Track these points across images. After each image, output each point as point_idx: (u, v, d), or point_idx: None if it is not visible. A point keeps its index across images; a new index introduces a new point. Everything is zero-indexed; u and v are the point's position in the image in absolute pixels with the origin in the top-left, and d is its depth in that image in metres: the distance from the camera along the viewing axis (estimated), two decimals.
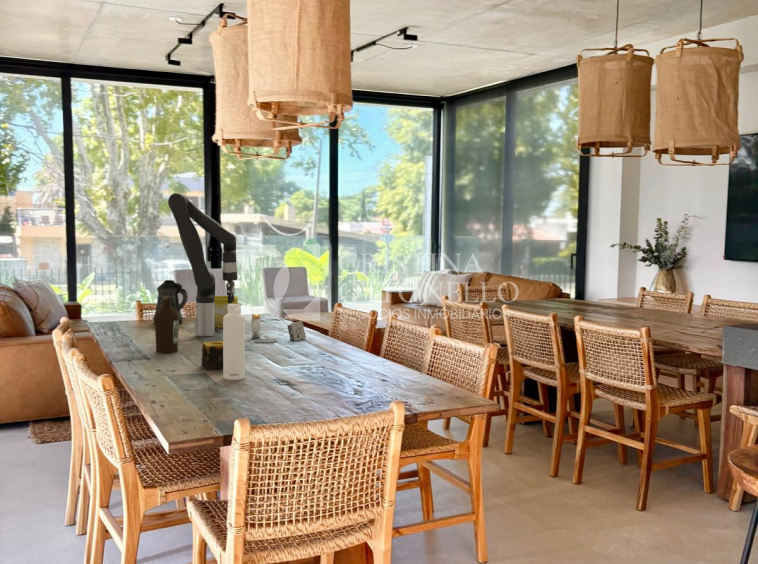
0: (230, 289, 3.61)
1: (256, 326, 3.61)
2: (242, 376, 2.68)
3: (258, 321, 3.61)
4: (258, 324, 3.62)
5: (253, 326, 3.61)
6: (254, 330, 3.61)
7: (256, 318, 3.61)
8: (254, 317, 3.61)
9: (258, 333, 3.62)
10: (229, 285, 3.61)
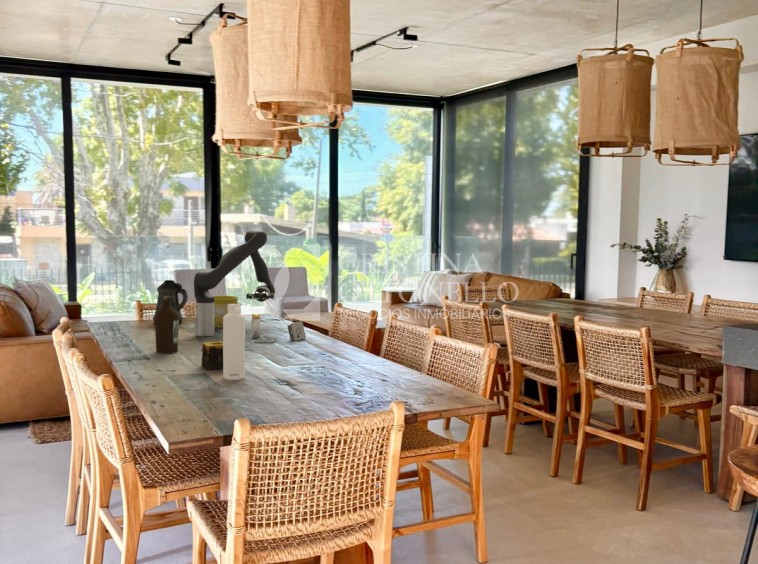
0: (273, 297, 3.81)
1: (256, 326, 3.61)
2: (242, 376, 2.68)
3: (258, 321, 3.61)
4: (258, 324, 3.62)
5: (253, 326, 3.61)
6: (254, 330, 3.61)
7: (256, 318, 3.61)
8: (254, 317, 3.61)
9: (258, 333, 3.62)
10: (273, 296, 3.83)
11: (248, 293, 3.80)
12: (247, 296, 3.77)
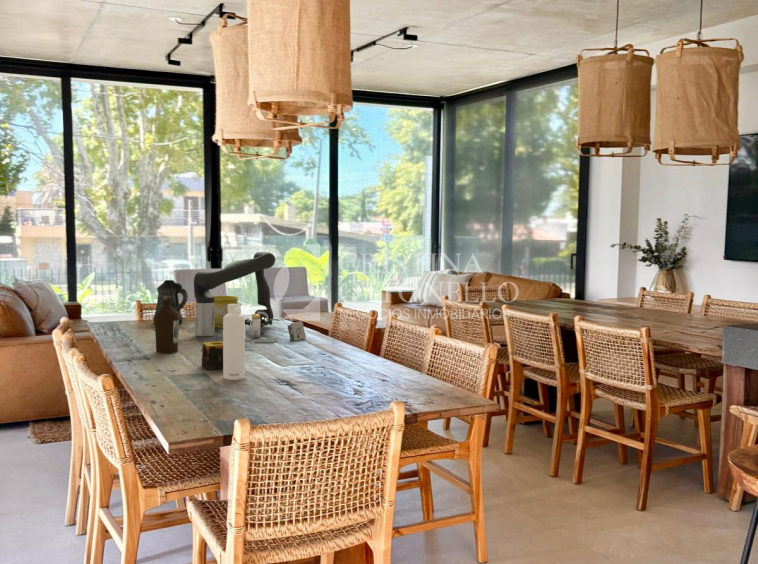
0: None
1: (256, 326, 3.61)
2: (242, 376, 2.68)
3: (258, 321, 3.61)
4: (258, 324, 3.62)
5: (253, 326, 3.61)
6: (254, 330, 3.61)
7: (256, 318, 3.61)
8: (254, 317, 3.61)
9: (258, 333, 3.62)
10: None
11: (246, 319, 3.76)
12: (245, 322, 3.73)
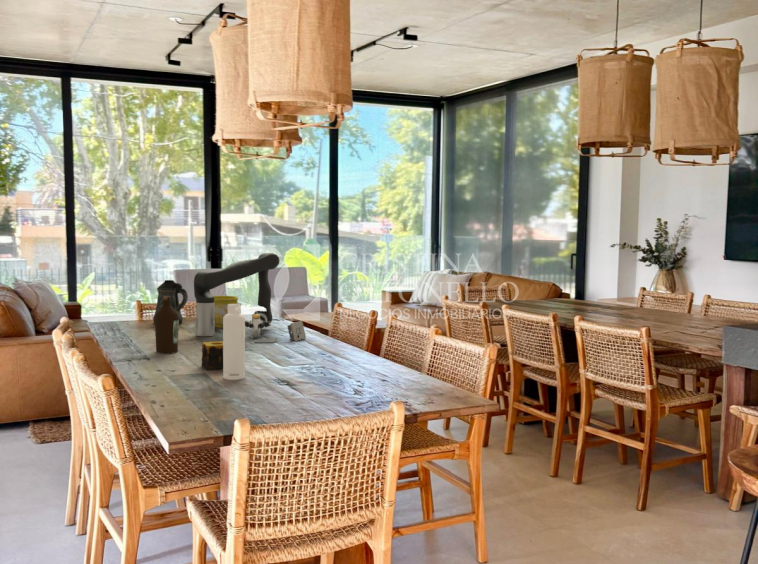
0: (268, 325, 3.68)
1: (257, 326, 3.61)
2: (242, 376, 2.68)
3: (258, 321, 3.61)
4: (258, 324, 3.62)
5: (253, 326, 3.61)
6: (254, 330, 3.61)
7: (256, 318, 3.61)
8: (254, 317, 3.61)
9: (258, 333, 3.62)
10: (270, 324, 3.70)
11: (246, 321, 3.68)
12: (247, 324, 3.65)
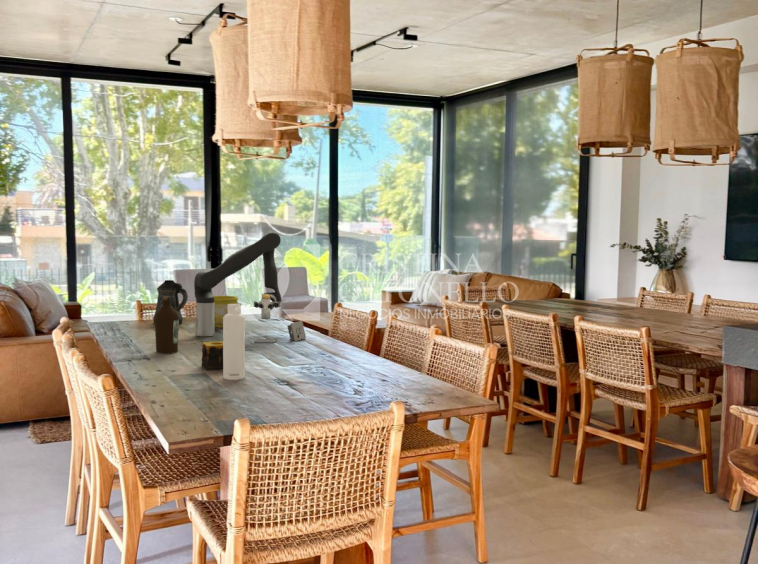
0: (278, 306, 3.56)
1: (266, 307, 3.50)
2: (242, 376, 2.68)
3: (268, 301, 3.50)
4: (268, 304, 3.50)
5: (263, 306, 3.50)
6: (264, 311, 3.50)
7: (266, 298, 3.50)
8: (264, 297, 3.50)
9: (268, 314, 3.51)
10: (280, 305, 3.58)
11: (255, 302, 3.56)
12: (257, 305, 3.53)
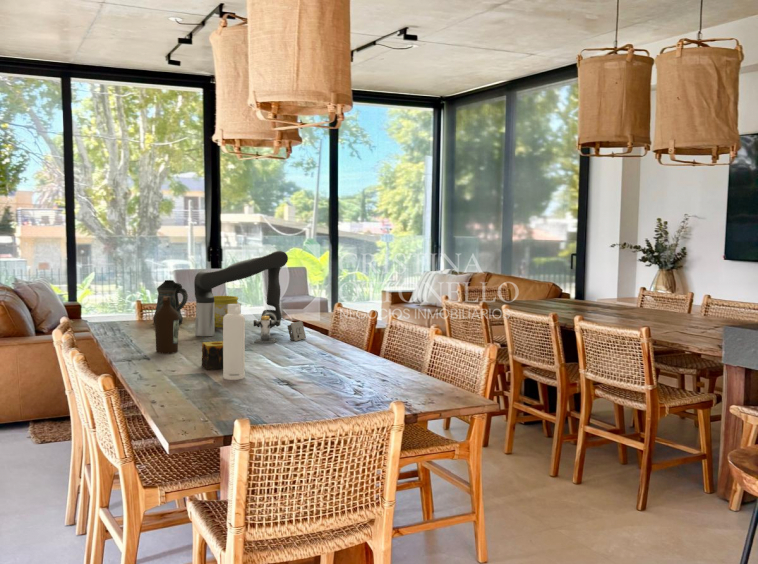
0: (279, 324, 3.57)
1: (266, 328, 3.51)
2: (242, 376, 2.68)
3: (267, 323, 3.51)
4: (267, 326, 3.51)
5: (262, 328, 3.51)
6: (264, 332, 3.51)
7: (265, 319, 3.51)
8: (263, 318, 3.51)
9: (268, 335, 3.51)
10: (280, 323, 3.59)
11: (254, 320, 3.57)
12: (255, 323, 3.54)
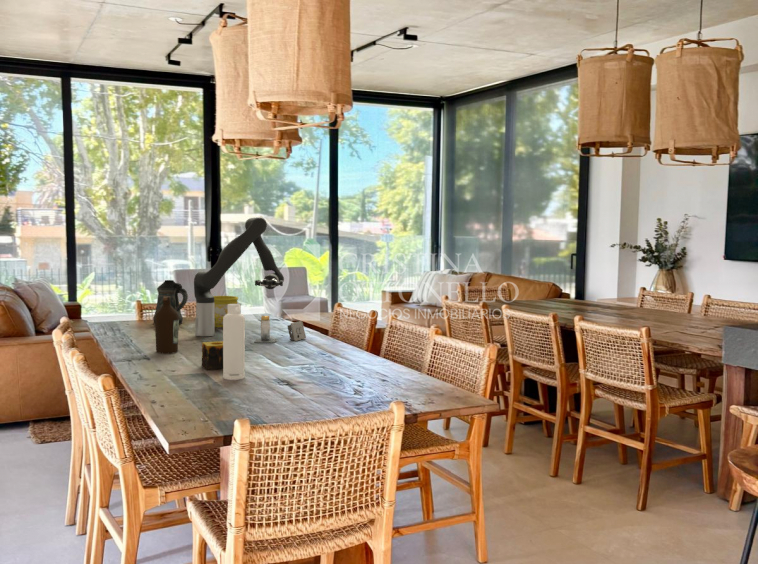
0: None
1: (266, 328, 3.51)
2: (242, 376, 2.68)
3: (267, 323, 3.51)
4: (267, 326, 3.51)
5: (262, 328, 3.51)
6: (264, 332, 3.51)
7: (265, 320, 3.50)
8: (263, 319, 3.50)
9: (267, 335, 3.51)
10: None
11: (257, 280, 3.69)
12: (256, 283, 3.66)
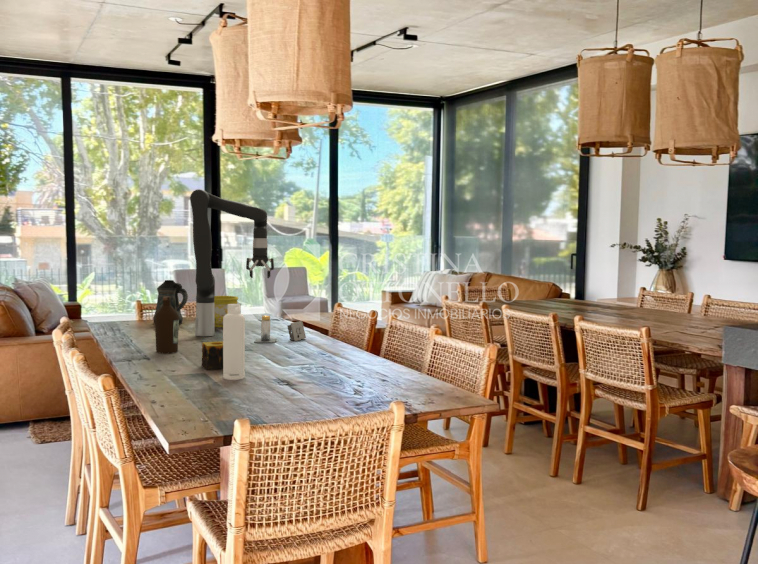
0: (273, 264, 3.71)
1: (266, 328, 3.51)
2: (242, 376, 2.68)
3: (268, 323, 3.51)
4: (268, 326, 3.51)
5: (263, 328, 3.51)
6: (264, 332, 3.51)
7: (266, 320, 3.50)
8: (264, 319, 3.50)
9: (268, 335, 3.51)
10: (273, 260, 3.70)
11: (247, 263, 3.68)
12: (247, 269, 3.70)
